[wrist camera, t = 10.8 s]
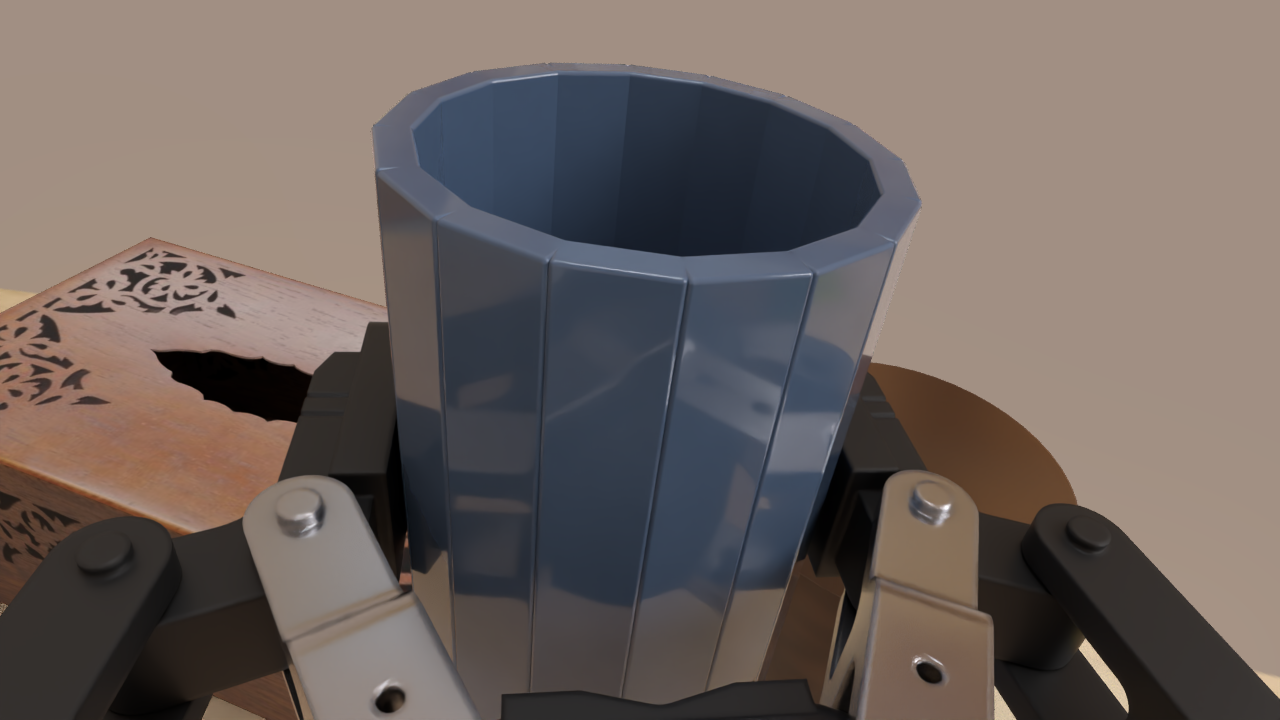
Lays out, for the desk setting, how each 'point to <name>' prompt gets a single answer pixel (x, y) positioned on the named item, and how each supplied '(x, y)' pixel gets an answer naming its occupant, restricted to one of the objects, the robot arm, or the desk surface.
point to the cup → (624, 363)
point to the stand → (949, 446)
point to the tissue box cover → (159, 403)
